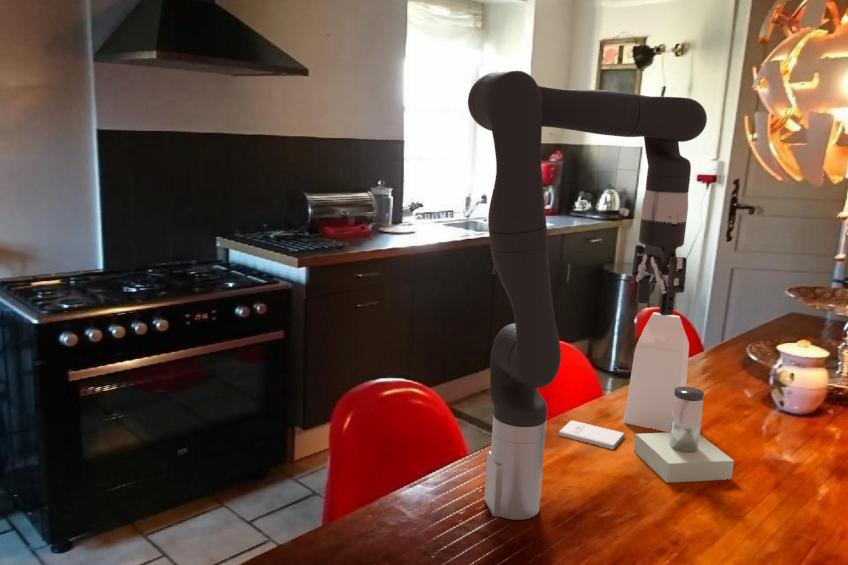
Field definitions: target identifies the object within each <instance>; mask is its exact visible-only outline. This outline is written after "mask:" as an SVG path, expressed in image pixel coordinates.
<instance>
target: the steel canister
mask: <svg viewBox="0 0 848 565" xmlns="http://www.w3.org/2000/svg"><path fill="white" fill-rule="evenodd" d="M704 398H705V392H704V391H703V390H701V389H699V388H696V387H692V386H686V387H677V388H675V391H674V401H673V411H672V421H671V431H670V441H669V446H670V447H671V448H672V449H674V450H677V451H680V452H685V453H693V452H696V451H697V450H698V445H699V436H700V435H701V427H702V426H701V425H702V416H703V408H704Z"/></svg>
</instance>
